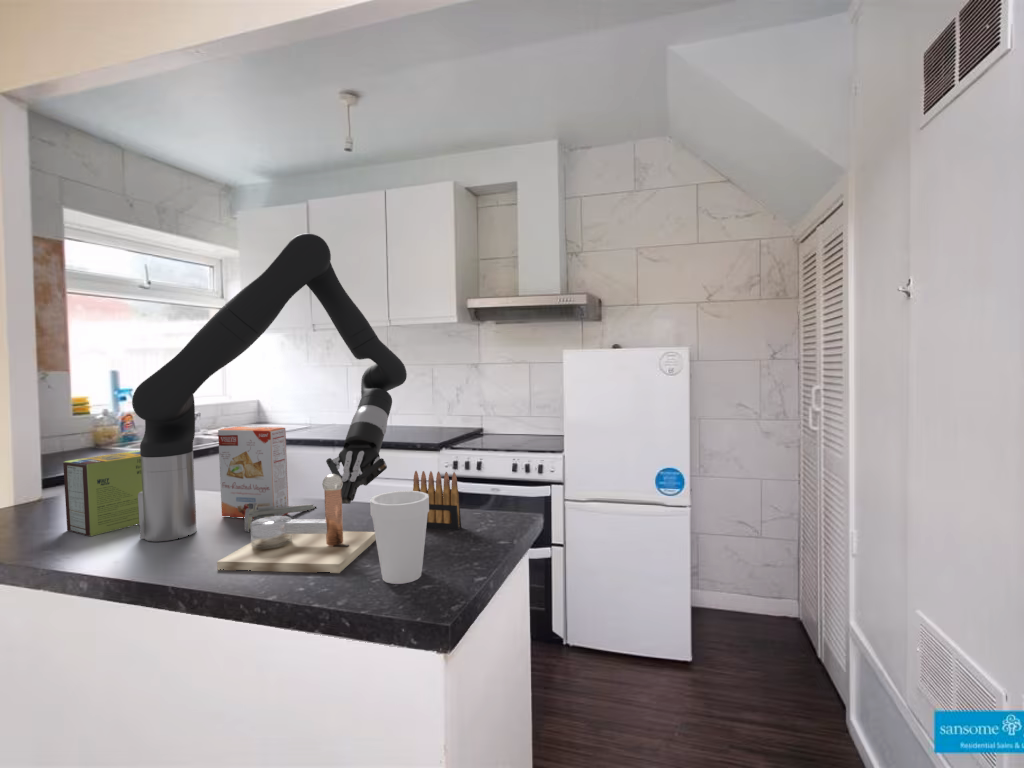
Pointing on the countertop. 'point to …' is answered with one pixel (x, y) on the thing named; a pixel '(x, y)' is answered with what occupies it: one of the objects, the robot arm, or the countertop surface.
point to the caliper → (270, 512)
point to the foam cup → (400, 533)
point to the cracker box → (252, 468)
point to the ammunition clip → (440, 501)
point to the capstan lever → (303, 521)
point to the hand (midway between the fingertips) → (344, 501)
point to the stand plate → (301, 554)
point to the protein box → (102, 492)
